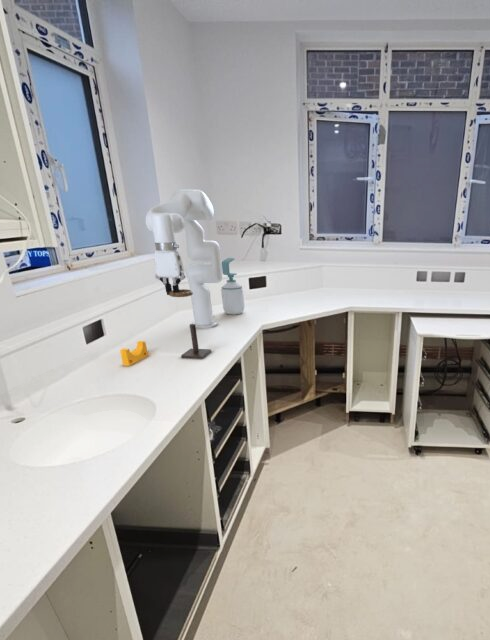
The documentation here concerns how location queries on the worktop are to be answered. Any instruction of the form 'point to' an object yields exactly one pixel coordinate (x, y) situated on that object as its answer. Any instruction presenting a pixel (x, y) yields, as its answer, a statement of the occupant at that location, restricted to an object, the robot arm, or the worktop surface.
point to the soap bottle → (231, 292)
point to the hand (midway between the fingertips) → (173, 294)
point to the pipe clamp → (134, 354)
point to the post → (195, 347)
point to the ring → (181, 293)
